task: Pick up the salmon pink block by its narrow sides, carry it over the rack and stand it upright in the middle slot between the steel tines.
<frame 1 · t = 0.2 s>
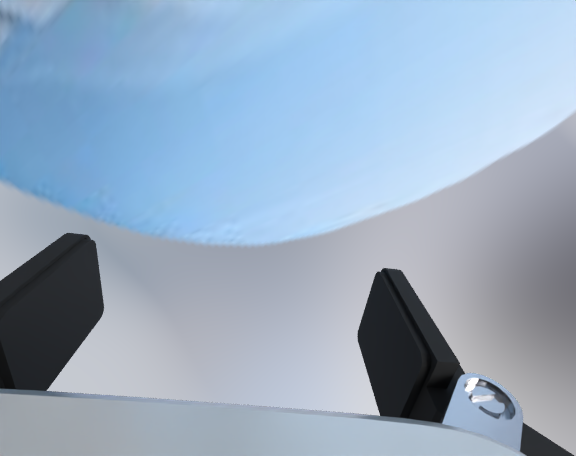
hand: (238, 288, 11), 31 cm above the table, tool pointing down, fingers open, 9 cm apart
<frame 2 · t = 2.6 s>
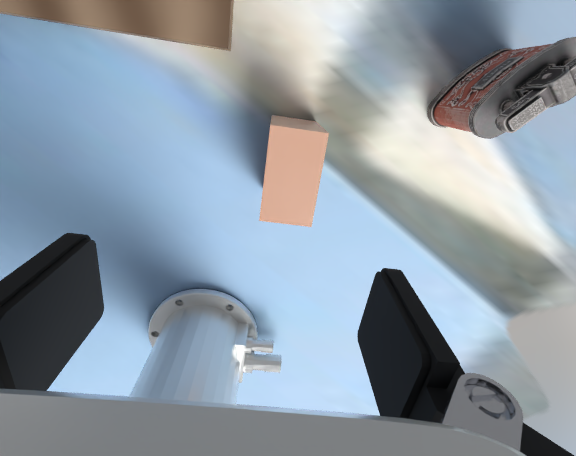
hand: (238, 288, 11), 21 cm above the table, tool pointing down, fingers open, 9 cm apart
salmon pink block: (288, 156, 30), on the table
lighter: (467, 89, 28), on the table
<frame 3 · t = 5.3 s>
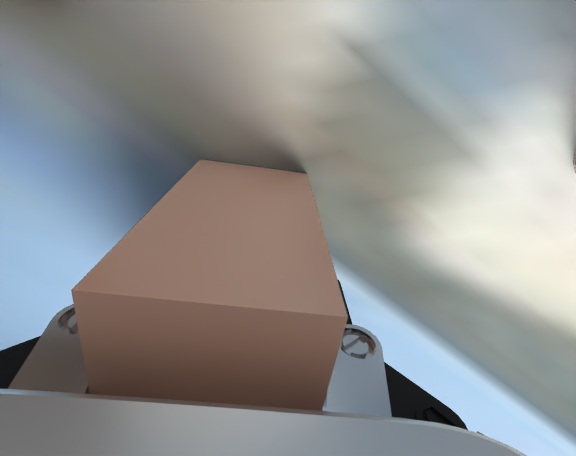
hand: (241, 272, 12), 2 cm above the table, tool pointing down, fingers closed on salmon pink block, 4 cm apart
salmon pink block: (246, 247, 13), on the table, touching gripper
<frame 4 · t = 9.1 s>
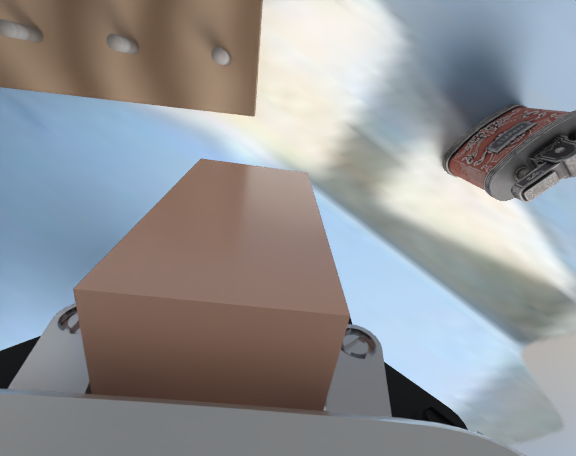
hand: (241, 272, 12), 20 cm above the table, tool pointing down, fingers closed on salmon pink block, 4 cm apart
salmon pink block: (246, 247, 13), point 18 cm above the table, touching gripper
lighter: (481, 140, 30), on the table
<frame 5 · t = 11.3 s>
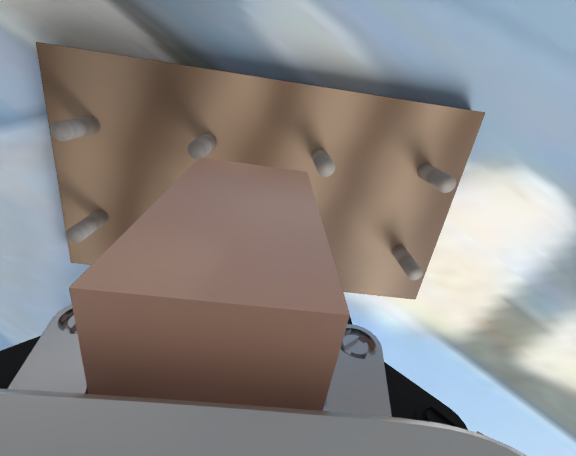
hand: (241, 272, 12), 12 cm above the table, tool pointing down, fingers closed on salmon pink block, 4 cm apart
salmon pink block: (246, 246, 13), point 10 cm above the table, touching gripper
rack: (261, 187, 22), on the table
when the fingers open (5 cm above the table, at t = 12.9 s): salmon pink block drops 2 cm, resting on rack.
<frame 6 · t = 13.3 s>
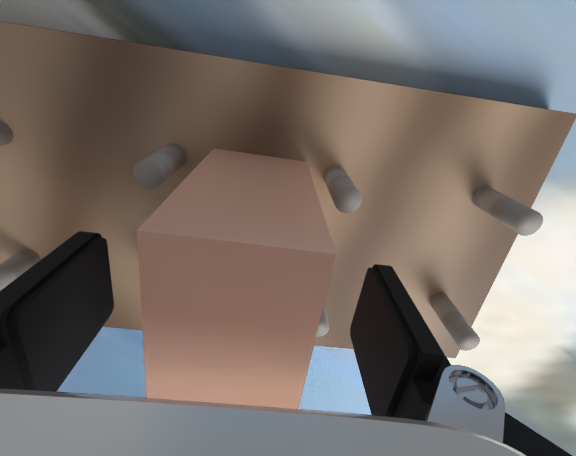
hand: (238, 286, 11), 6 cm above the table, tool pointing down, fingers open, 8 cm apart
salmon pink block: (252, 228, 15), point 1 cm above the table, touching rack
rack: (252, 215, 16), on the table
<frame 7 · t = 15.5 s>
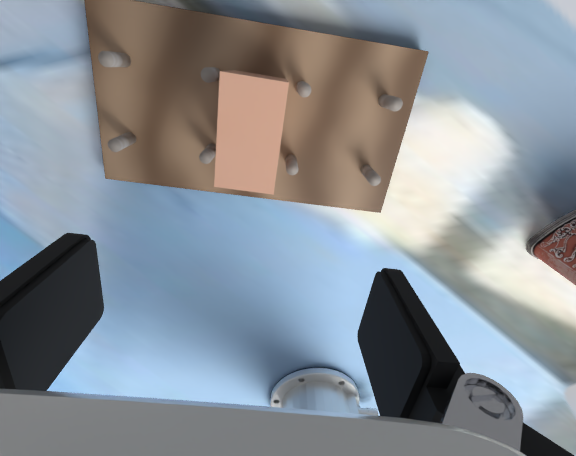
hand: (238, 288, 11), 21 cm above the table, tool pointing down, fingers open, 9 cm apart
salmon pink block: (256, 119, 27), point 1 cm above the table, touching rack
rack: (256, 117, 28), on the table
lighter: (561, 229, 35), on the table
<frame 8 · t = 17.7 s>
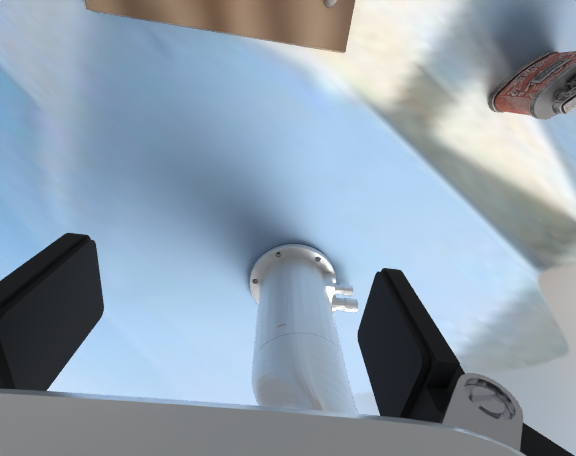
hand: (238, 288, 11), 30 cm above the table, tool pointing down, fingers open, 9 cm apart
lighter: (520, 83, 36), on the table
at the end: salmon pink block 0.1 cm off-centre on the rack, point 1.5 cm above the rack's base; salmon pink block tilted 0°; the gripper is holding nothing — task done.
